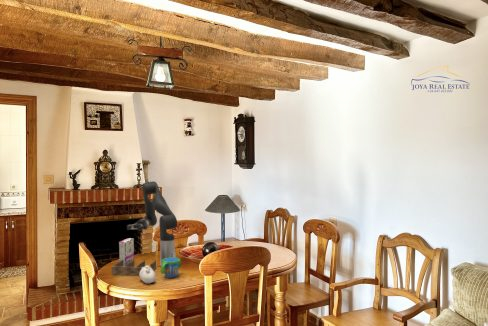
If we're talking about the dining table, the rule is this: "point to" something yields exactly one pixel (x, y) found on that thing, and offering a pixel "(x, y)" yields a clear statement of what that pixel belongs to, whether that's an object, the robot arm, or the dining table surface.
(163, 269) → the snack cup
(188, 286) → the dining table surface
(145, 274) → the white spotted figurine
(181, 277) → the dining table surface
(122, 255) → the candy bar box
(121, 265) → the walnut rack
